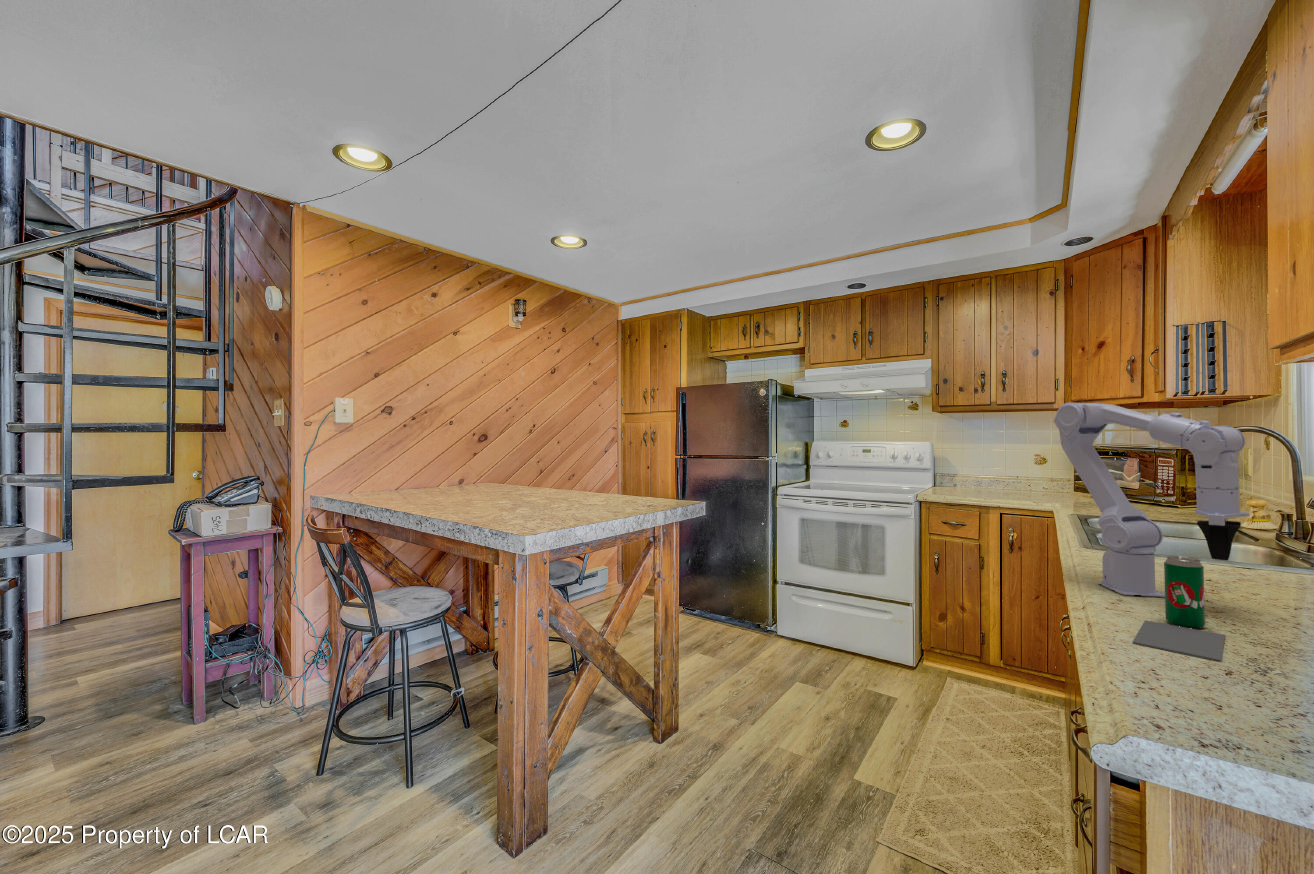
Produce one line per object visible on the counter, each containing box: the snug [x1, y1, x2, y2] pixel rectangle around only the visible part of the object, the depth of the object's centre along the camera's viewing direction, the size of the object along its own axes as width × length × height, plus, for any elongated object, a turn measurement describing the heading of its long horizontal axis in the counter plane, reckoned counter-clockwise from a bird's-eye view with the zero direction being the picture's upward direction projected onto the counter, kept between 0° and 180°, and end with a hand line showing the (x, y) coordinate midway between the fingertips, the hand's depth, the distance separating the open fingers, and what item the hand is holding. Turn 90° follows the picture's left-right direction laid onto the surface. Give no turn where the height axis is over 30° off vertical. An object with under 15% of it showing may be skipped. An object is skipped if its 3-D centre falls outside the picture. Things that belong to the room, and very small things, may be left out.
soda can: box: [1163, 555, 1206, 630], centre depth 95 cm, size 5×5×12 cm
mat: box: [1132, 619, 1226, 662], centre depth 88 cm, size 15×10×1 cm, turn 131°
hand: (1220, 558), depth 100 cm, fingers closed
